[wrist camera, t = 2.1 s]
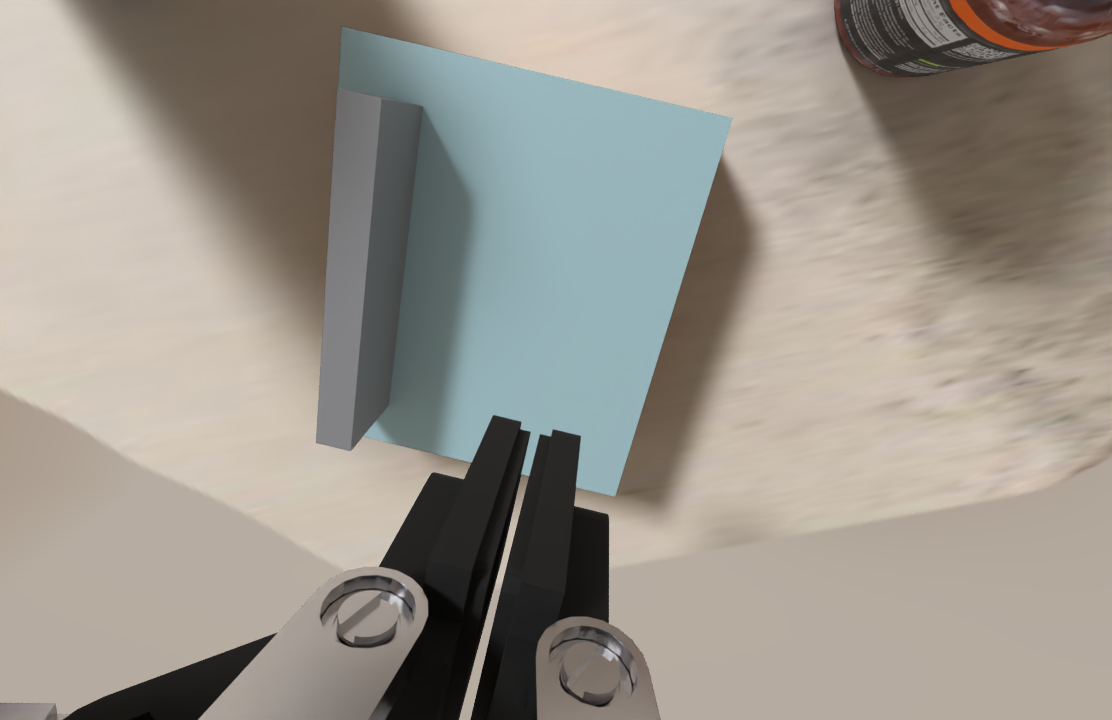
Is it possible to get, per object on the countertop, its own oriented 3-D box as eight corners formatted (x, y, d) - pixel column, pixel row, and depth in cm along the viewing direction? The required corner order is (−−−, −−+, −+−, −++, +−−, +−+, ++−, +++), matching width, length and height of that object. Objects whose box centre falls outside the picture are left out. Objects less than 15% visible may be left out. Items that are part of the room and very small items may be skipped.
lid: (349, 29, 18) (279, 0, 14) (729, 118, 18) (760, 112, 14) (323, 420, 23) (268, 473, 19) (614, 489, 23) (615, 556, 19)
